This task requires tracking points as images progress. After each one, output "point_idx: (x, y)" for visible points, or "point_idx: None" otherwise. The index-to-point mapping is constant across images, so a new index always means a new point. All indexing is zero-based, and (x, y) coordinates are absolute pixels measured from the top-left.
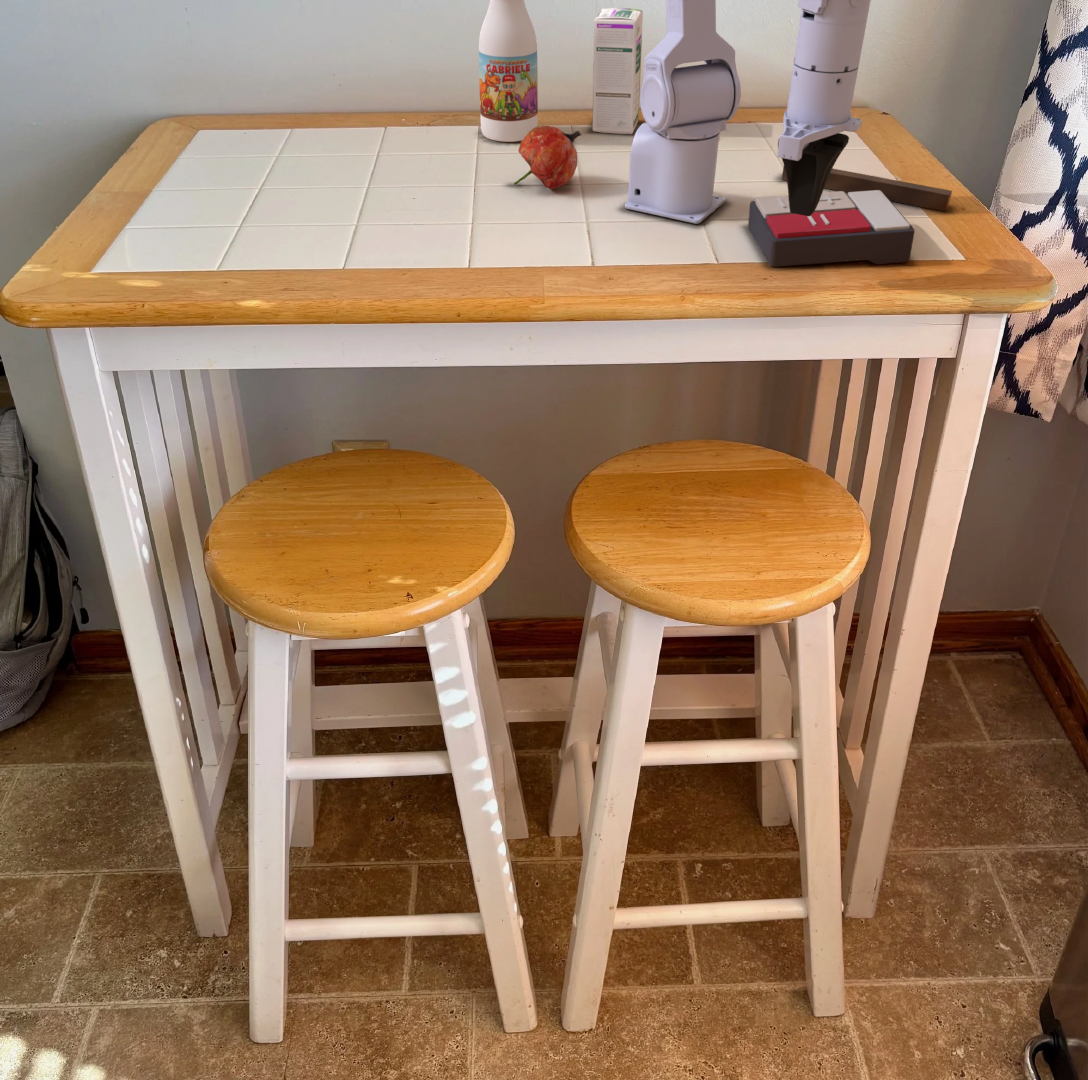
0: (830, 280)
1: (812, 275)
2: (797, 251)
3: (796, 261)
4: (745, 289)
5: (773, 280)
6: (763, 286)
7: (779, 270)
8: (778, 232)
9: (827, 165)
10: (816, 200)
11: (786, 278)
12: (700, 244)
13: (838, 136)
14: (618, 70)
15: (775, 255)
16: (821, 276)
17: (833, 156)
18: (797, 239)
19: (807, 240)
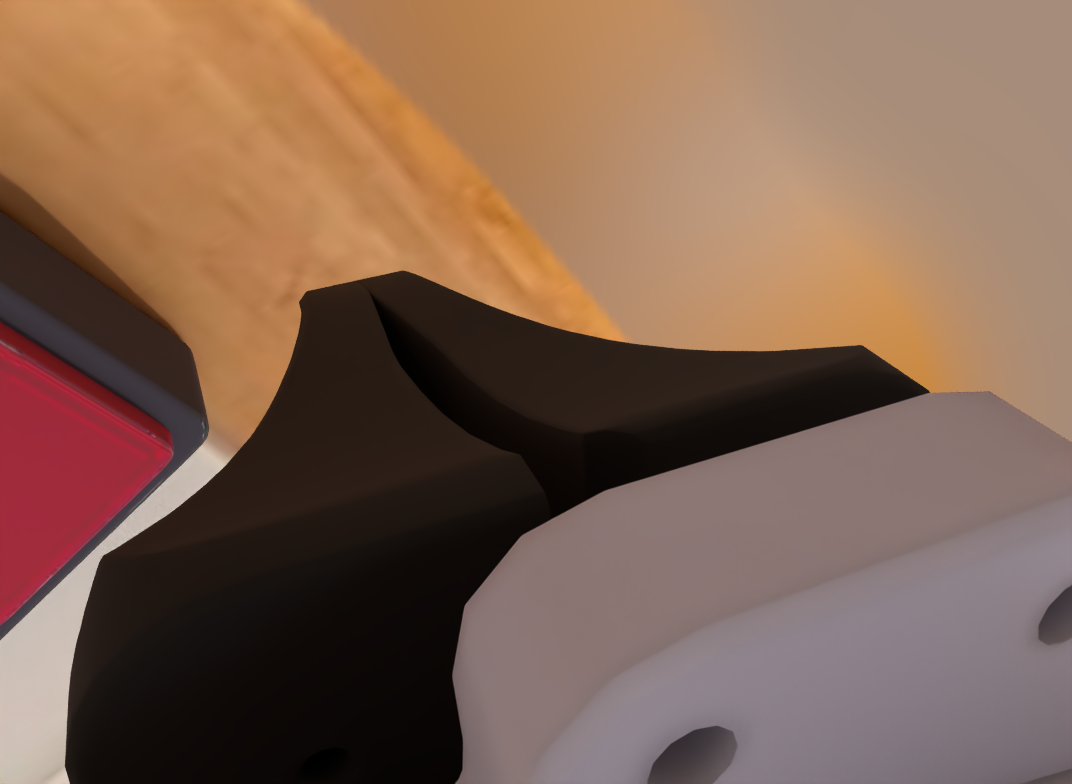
0: (77, 18)
1: (103, 140)
2: (88, 306)
3: (86, 279)
4: (487, 302)
5: (318, 263)
6: (410, 261)
7: (190, 306)
8: (163, 455)
9: (754, 354)
10: (435, 293)
11: (250, 228)
12: None
13: (291, 737)
14: None
15: (194, 373)
16: (71, 91)
17: (852, 356)
18: (95, 347)
19: (38, 301)
